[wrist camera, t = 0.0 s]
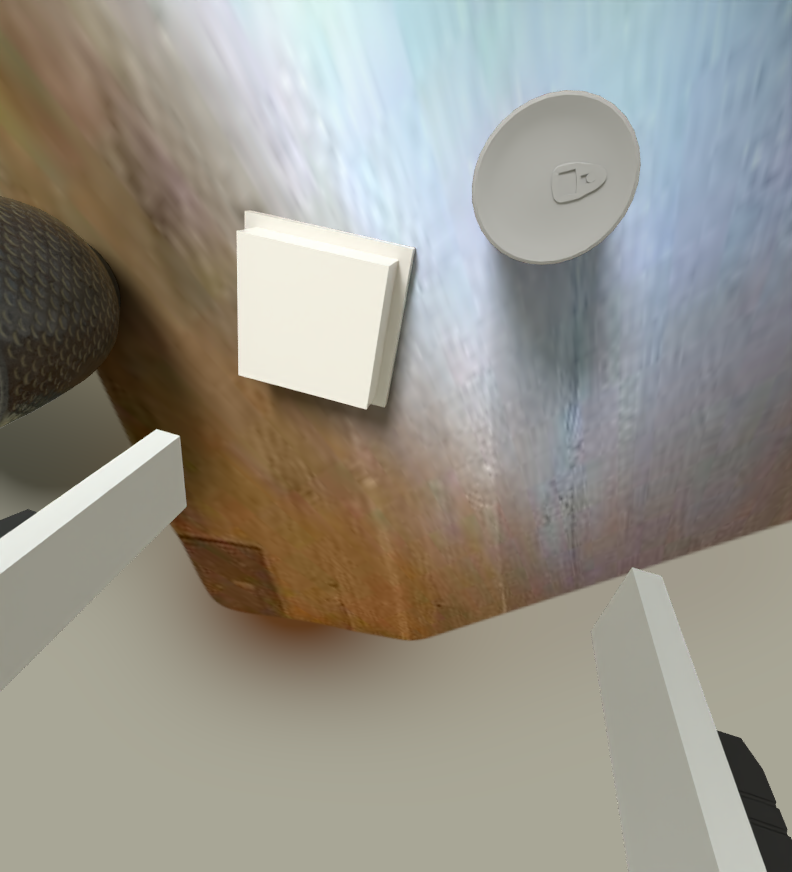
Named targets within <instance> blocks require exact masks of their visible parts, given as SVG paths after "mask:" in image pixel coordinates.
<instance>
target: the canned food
mask: <svg viewBox="0 0 792 872" xmlns="http://www.w3.org/2000/svg"><path fill="white" fill-rule="evenodd" d="M640 165H641V164H640V151H639V145H638V141H637V138H636V135H635V132H634V129H633V128H632V126H631V124H630V123H629V121H628V119H627V117H626V116H625V115H624V114H623V113H622V112H621V111H620V110H619V109H618V108H617V107H616V106H615V105H614V104H613V103H611V102H609V101H607V100H606V99H604V98H602V97H601V96H598V95H595V94H592V93H588V92H585V91H571V90H564V91H559V92H553V93H548V94H545V95H542V96H540V97H537V98H535V99H532V100H530V101H528V102H527V103H525V104H523V105H522V106H520V107H519V108H517V109H515V110H514V111H513V112H512V113H511V114H510V115H508V116H507V117H506V118H505V119H504V120H503V121H502V122H501V123H500V124H499V125H498V126H497V128H496V129H495V130H494V132H493V133H492V134H491V135H490V137H489V138H488V140H487V142H486V144H485V146H484V147H483V149H482V151H481V153H480V156H479V159H478V161H477V164H476V167H475V171H474V177H473V183H472V203H473V207H474V212H475V217H476V219H477V222H478V224H479V226H480V228H481V231H482V232H483V233H484V235H485V236H486V238H487V239H488V240H489V242H490V243H491V244H492V245H493V246H495V247H496V248H497V249H498V250H499V251H500V252H502V253H503V254H505V255H507V256H509V257H510V258H512V259H515V260H518V261H521V262H524V263H529V264H538V265H545V264H556V263H560V262H564V261H567V260H571V259H573V258H575V257H578V256H580V255H582V254H584V253H586V252H588V251H589V250H591V249H592V248H594V247H595V246H597V245H598V244H599V243H601V242H602V241H603V240H604V239H605V238H606V237H607V236H608V235H609V234H610V233H611V232H612V231H613V230H614V229H615V228H616V226H617V225H618V224H619V222H620V221H621V220H622V218H623V217H624V216H625V214H626V212H627V210H628V208H629V206H630V204H631V202H632V200H633V198H634V194H635V191H636V188H637V185H638V181H639V173H640Z"/></svg>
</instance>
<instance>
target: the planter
mask: <svg viewBox="0 0 792 872" xmlns="http://www.w3.org/2000/svg"><path fill="white" fill-rule="evenodd" d="M120 304H121V303H120V292H119V288H118V284H117V281H116V279H115V277H114V274H113V272H112V271H111V269H110V267H109V266H108V264H107V263H106V262H105V260H104V259H103V258H102V257H101V255H100V254H99V253H98V252H97V251H96V250H95V249H93V248H92V247H91V246H90V245H89V244H87V243H86V242H85V241H84V240H83V239H82V238H81V237H80V236H79V235H77V234H76V233H75V232H74V231H73V230H72V229H70V228H69V227H68V226H66V225H65V224H63V223H62V222H61V221H59V220H58V219H56V218H55V217H53V216H51V215H49V214H48V213H46V212H44V211H42V210H40V209H38V208H35V207H33V206H30V205H27V204H25V203H22V202H19V201H16V200H13V199H9V198H5V197H1V196H0V428H1V427H3V426H5V425H7V424H9V423H11V422H13V421H15V420H17V419H19V418H21V417H23V416H25V415H27V414H29V413H32V412H33V411H35V410H36V409H38V408H40V407H42V406H44V405H45V404H47V403H49V402H51V401H52V400H54V399H56V398H57V397H59V396H60V395H62V394H64V393H65V392H67V391H68V390H70V389H71V388H73V387H74V386H76V385H77V384H79V383H81V382H82V381H84V380H85V379H86V378H87V377H89V376H90V375H91V374H92V373H93V372H94V371H95V370H96V369H97V368H98V367H99V366H100V365H101V364H102V363H103V362H104V361H105V359H106V358H107V357H108V355H109V353H110V352H111V350H112V348H113V346H114V345H115V341H116V338H117V335H118V330H119V321H120V314H119V311H120Z"/></svg>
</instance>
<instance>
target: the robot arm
mask: <svg viewBox="0 0 792 872" xmlns="http://www.w3.org/2000/svg"><path fill="white" fill-rule="evenodd" d="M186 507H187V505H186V494H185V484H184V473H183V463H182V452H181V441H180V436H178V435H175V434H172V433H168V432H165V431H161V430H158V429H156V430H155V431H153V432H152V433H150V434H149V435H147V436H146V437H145V438H143V439H142V440H140V441H139V442H137V443H136V444H135V445H133V446H132V447H130V448H129V449H128V450H126V451H125V452H123V453H122V454H120V455H119V456H118V457H116V458H115V459H113V460H112V461H110V462H109V463H107V464H106V465H105V466H103V467H102V468H100V469H99V470H97V471H96V472H95V473H93V474H92V475H90V476H89V477H87V478H86V479H85V480H83V481H82V482H80V483H79V484H78V485H76V486H75V487H73V488H72V489H70V490H69V491H67V492H66V493H65V494H64V495H62V496H60V497H59V498H58V499H56V500H55V501H53V502H52V503H50V504H49V505H47V506H46V507H45V508H43V509H42V510H40V511H39V512H35V511H32V510H28V509H27V510H25V511H22V512H20V513H17V514H15V515H12V516H10V517H7V518H5V519H2V520H0V692H1V691H2V690H3V689H4V688H5V687H6V686H7V685H8V684H9V683H10V682H11V681H12V679H14V678H15V677H16V676H17V675H18V674H19V673H20V672H21V671H22V670H23V668H25V667H26V666H27V665H28V664H29V663H30V662H31V661H32V660H33V659H34V658H35V657H36V656H37V655H38V654H39V653H40V652H41V651H42V650H43V649H44V648H45V647H46V646H47V645H48V644H49V643H50V642H51V641H52V640H53V639H54V638H55V637H56V636H57V635H58V634H59V633H60V632H61V631H62V630H63V629H64V628H65V627H66V626H67V625H68V624H69V623H70V622H71V621H72V620H73V619H74V618H75V617H76V616H77V615H78V614H79V613H80V612H81V611H82V610H83V609H84V608H85V607H86V606H87V605H88V604H89V603H90V602H91V601H92V600H93V599H94V598H95V597H96V596H97V595H98V594H99V593H100V592H101V591H102V590H103V589H104V588H105V587H106V586H107V585H108V584H109V583H110V582H111V581H112V580H113V579H114V578H115V577H116V576H117V575H118V574H119V573H120V572H121V571H122V570H123V569H124V568H125V567H126V566H127V565H128V564H129V563H130V562H131V561H132V560H133V559H134V558H135V557H136V556H137V555H138V554H139V553H140V552H141V551H142V550H143V549H144V548H145V547H146V546H147V545H148V544H149V543H150V542H151V541H152V540H153V539H154V538H155V537H156V536H157V535H158V534H159V533H160V532H161V531H162V530H163V529H164V528H165V527H166V526H167V525H168V524H169V523H170V522H172V521H173V520H174V519H175V518H176V517H177V516H178V515H179V514H180V513H181V512H182V511H183V510H184V509H185V508H186ZM591 636H592V643H593V648H594V655H595V662H596V668H597V674H598V681H599V687H600V693H601V700H602V706H603V712H604V719H605V725H606V732H607V738H608V744H609V751H610V758H611V763H612V770H613V777H614V783H615V789H616V796H617V802H618V809H619V815H620V821H621V827H622V834H623V841H624V847H625V853H626V859H627V866H628V872H792V839H791V837H789V836H788V835H787V827H786V825H785V822H784V820H783V817H782V815H781V813H780V810H779V809H778V808H776V805H775V804H776V800H775V798H774V795H773V793H772V791H771V788H770V786H769V783H768V781H767V778H766V776H765V774H764V771H763V769H762V768H761V766H760V765H759V763H758V762H757V761H756V759H755V758H754V756H753V755H752V753H751V752H750V751H749V749H748V748H747V746H746V745H745V743H744V742H743V740H742V739H741V738H739V737H735V736H733V735H729V734H726V733H723V732H720V731H717V730H716V727H715V725H714V722H713V719H712V716H711V713H710V710H709V708H708V705H707V702H706V699H705V696H704V693H703V691H702V688H701V685H700V682H699V679H698V677H697V674H696V671H695V668H694V665H693V663H692V660H691V657H690V654H689V652H688V648H687V646H686V643H685V640H684V637H683V634H682V632H681V629H680V626H679V624H678V620H677V617H676V615H675V612H674V609H673V606H672V603H671V601H670V598H669V595H668V592H667V590H666V587H665V584H664V581H663V578H662V576H660V575H657V574H653V573H649V572H647V571H643V570H640V569H636V568H633V567H632V568H631V570H630V571H629V573H628V574H627V576H626V577H625V579H624V580H623V582H622V584H621V585H620V587H619V588H618V590H617V591H616V593H615V594H614V596H613V598H612V599H611V601H610V602H609V604H608V605H607V607H606V608H605V610H604V611H603V613H602V614H601V616H600V618H599V619H598V621H597V622H596V624H595V625H594V627H593V628H592V630H591Z"/></svg>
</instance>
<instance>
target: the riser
mask: <svg viewBox="0 0 792 872" xmlns="http://www.w3.org/2000/svg"><path fill="white" fill-rule="evenodd" d="M414 254H415V247H411V246H406V245H402V244H398V243H393V242H389V241H384V240H380V239H376V238H371V237H367V236H362V235H358V234H354V233H349V232H345V231H340V230H336V229H332V228H327V227H323V226H318V225H314V224H309V223H305V222H301V221H296V220H292V219H287V218H283V217H279V216H274V215H270V214H265V213H261V212H257V211H252V210H249V211H245V229H244V230H239V231H237V293H238V370H239V375H240V376H244V377H248V378H251V379H255V380H259V381H263V382H266V383H270V384H274V385H277V386H281V387H285V388H288V389H292V390H296V391H300V392H303V393H307V394H311V395H314V396H318V397H322V398H325V399H329V400H333V401H337V402H340V403H344V404H348V405H351V406H355V407H359V408H362V409H366V410H367V408H368V407H369V405H370V404H373V405H377V406H380V407H384V408H385V406H386V404H387V401H388V396H389V390H390V385H391V379H392V374H393V368H394V363H395V357H396V352H397V346H398V341H399V336H400V330H401V325H402V319H403V314H404V308H405V303H406V297H407V292H408V286H409V281H410V275H411V270H412V264H413V259H414Z"/></svg>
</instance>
